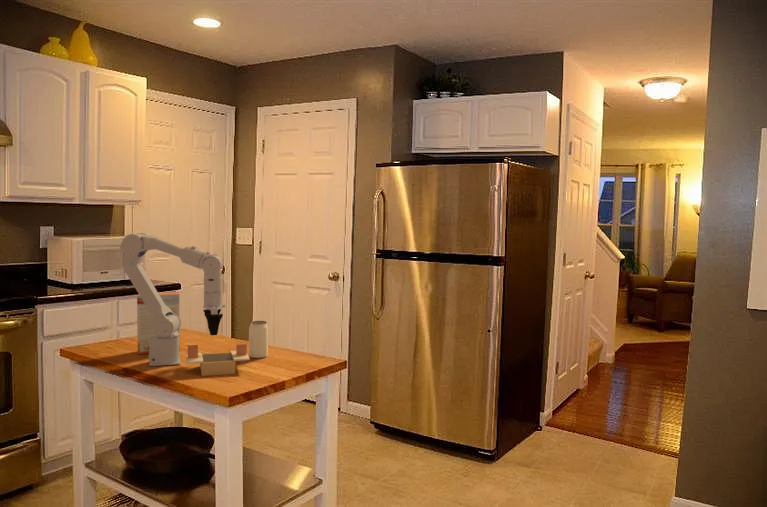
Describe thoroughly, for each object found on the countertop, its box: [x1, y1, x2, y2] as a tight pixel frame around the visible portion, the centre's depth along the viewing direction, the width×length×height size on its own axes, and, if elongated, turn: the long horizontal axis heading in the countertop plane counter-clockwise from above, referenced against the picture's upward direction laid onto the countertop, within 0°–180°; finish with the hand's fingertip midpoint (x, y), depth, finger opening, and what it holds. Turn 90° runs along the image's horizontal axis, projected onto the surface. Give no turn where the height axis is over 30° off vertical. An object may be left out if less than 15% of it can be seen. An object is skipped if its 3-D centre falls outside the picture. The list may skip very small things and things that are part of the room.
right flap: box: [230, 342, 251, 362], centre depth 195 cm, size 5×12×4 cm, turn 19°
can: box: [248, 320, 269, 359], centre depth 211 cm, size 6×6×12 cm
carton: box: [199, 351, 236, 377], centre depth 193 cm, size 10×12×4 cm
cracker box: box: [136, 291, 181, 355], centre depth 215 cm, size 14×6×21 cm, turn 108°
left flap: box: [185, 344, 203, 364], centre depth 190 cm, size 5×12×4 cm, turn 19°
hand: (212, 332), depth 201 cm, fingers open, 7 cm apart
